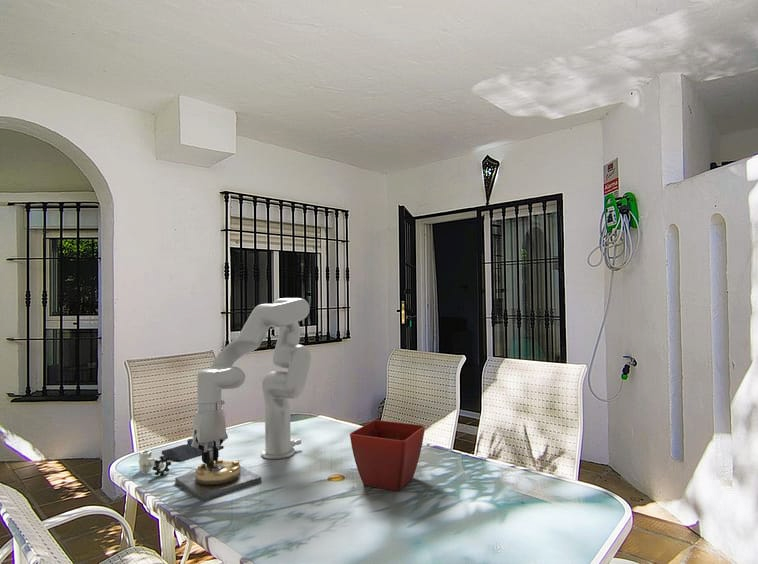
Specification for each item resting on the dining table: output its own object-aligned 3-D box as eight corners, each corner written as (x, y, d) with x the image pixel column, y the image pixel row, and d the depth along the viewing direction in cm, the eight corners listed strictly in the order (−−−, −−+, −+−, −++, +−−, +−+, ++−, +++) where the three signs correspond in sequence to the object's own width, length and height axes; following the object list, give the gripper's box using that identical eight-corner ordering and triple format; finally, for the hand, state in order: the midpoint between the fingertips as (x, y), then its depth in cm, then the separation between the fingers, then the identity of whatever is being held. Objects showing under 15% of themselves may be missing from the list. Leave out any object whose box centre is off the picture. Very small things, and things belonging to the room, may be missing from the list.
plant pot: (426, 475, 161) (425, 424, 161) (405, 498, 144) (404, 440, 144) (375, 467, 169) (374, 419, 169) (349, 488, 152) (348, 434, 152)
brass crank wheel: (248, 475, 158) (248, 452, 158) (207, 488, 148) (207, 463, 148) (227, 465, 168) (227, 443, 168) (187, 477, 158) (187, 453, 158)
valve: (133, 472, 168) (154, 479, 162) (132, 453, 168) (153, 459, 162) (150, 466, 174) (171, 472, 168) (150, 448, 174) (171, 453, 168)
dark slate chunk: (155, 457, 186) (155, 444, 186) (205, 442, 204) (205, 430, 204) (178, 464, 177) (178, 451, 177) (228, 448, 195) (228, 436, 195)
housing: (232, 467, 172) (232, 459, 172) (261, 482, 158) (261, 473, 158) (175, 483, 158) (175, 474, 158) (201, 501, 144) (201, 492, 144)
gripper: (225, 400, 171) (226, 453, 170) (181, 409, 159) (181, 466, 158) (237, 403, 165) (237, 457, 165) (191, 413, 154) (192, 471, 153)
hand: (210, 461), depth 162 cm, fingers closed on brass crank wheel, 2 cm apart
